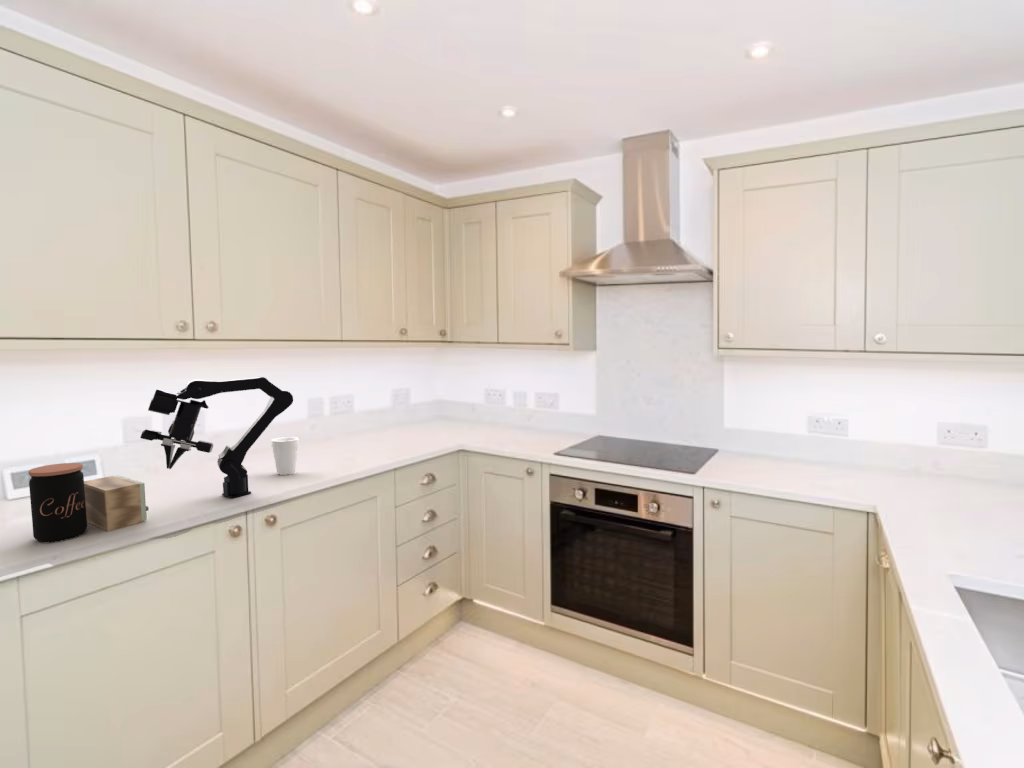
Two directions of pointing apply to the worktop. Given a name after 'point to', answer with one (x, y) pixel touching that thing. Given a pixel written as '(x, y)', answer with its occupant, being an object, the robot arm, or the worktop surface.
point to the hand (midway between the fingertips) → (168, 468)
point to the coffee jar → (57, 502)
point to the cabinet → (112, 502)
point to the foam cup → (285, 454)
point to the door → (142, 497)
